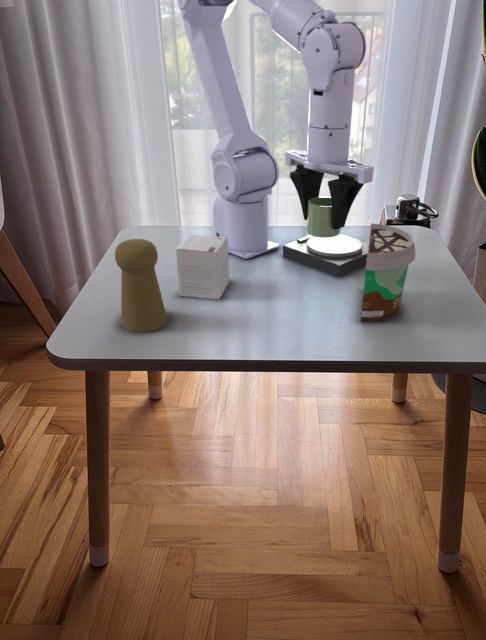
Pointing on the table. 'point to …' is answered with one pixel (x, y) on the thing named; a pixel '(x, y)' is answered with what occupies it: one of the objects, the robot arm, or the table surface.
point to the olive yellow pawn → (139, 286)
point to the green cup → (320, 218)
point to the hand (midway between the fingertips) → (323, 223)
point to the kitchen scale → (328, 253)
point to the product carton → (203, 266)
